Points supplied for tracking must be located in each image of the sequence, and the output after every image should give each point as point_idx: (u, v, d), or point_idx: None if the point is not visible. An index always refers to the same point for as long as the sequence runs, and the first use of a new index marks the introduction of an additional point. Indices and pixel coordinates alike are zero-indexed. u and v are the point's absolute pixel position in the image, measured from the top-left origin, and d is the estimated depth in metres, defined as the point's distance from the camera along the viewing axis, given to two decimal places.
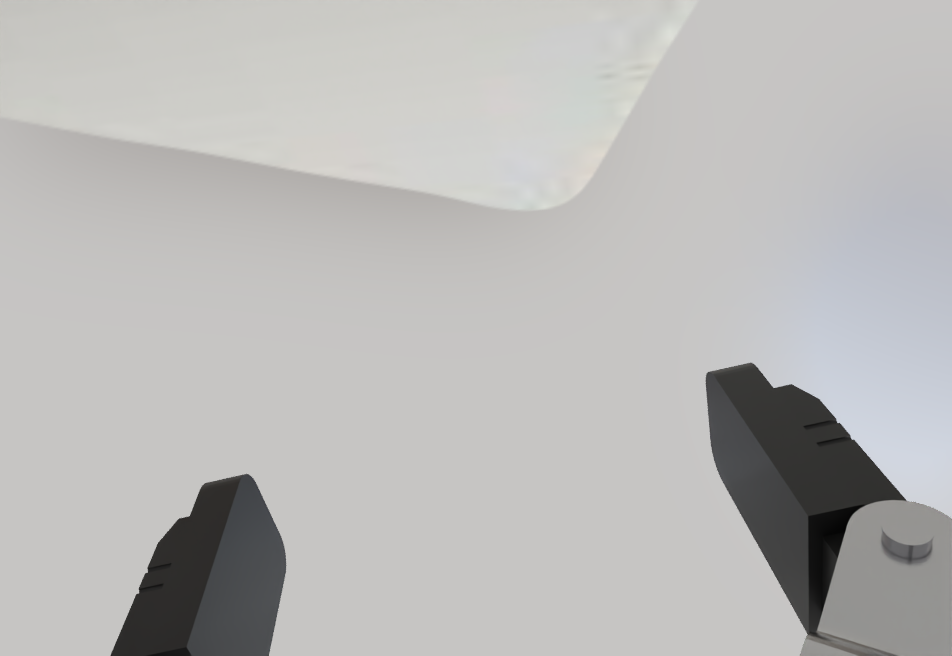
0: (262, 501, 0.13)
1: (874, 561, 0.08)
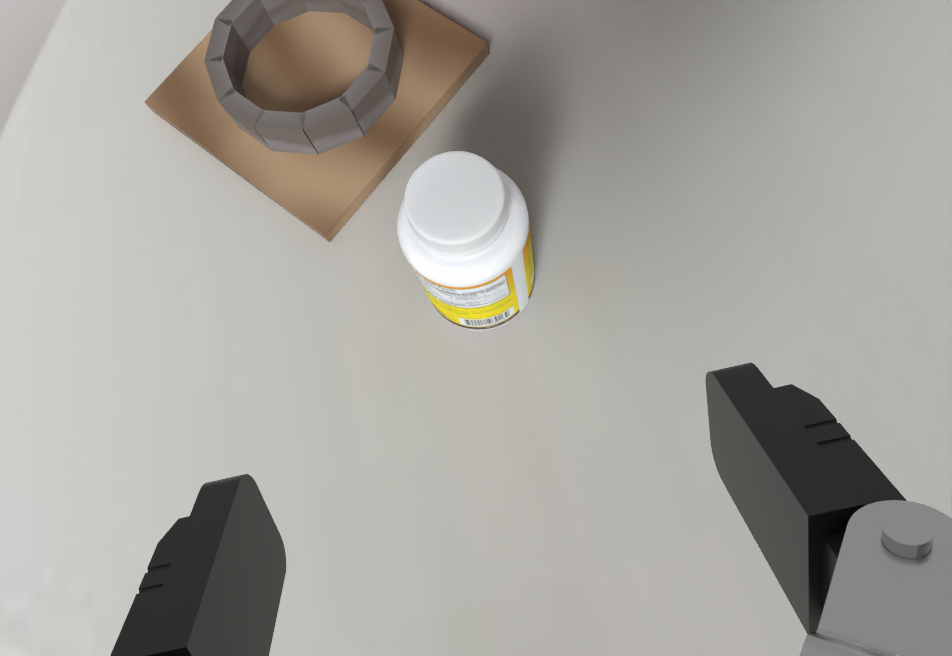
0: (262, 501, 0.13)
1: (874, 561, 0.08)
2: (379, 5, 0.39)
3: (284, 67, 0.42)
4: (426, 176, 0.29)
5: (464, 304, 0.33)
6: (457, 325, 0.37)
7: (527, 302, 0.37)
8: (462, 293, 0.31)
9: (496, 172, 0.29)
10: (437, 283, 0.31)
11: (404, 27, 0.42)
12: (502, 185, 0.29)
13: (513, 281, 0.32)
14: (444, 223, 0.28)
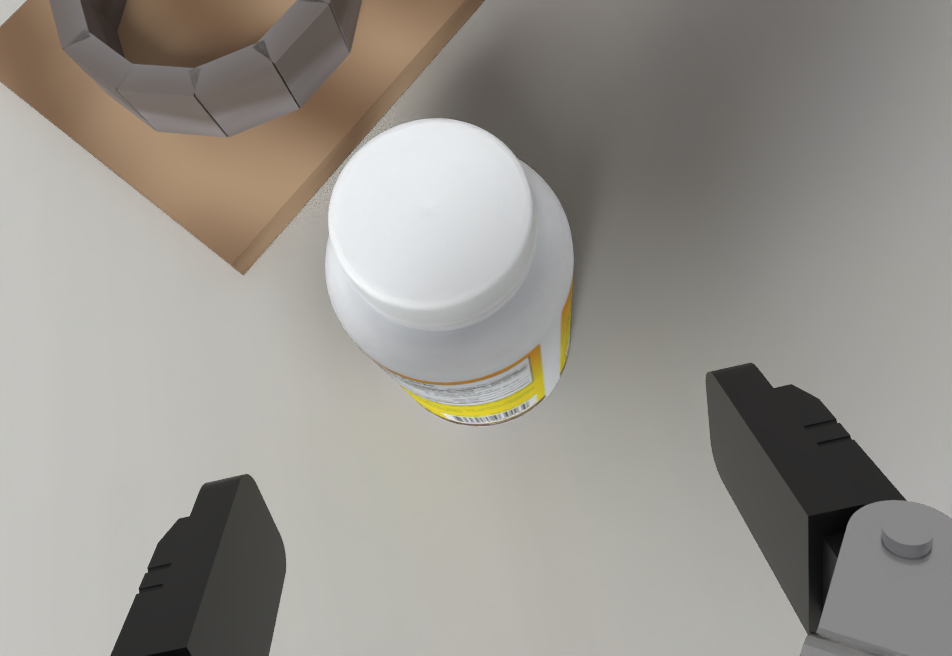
0: (262, 501, 0.13)
1: (874, 561, 0.08)
2: None
3: (183, 5, 0.27)
4: (374, 168, 0.14)
5: (451, 401, 0.18)
6: (442, 418, 0.23)
7: (557, 381, 0.23)
8: (447, 389, 0.17)
9: (515, 161, 0.14)
10: (399, 373, 0.16)
11: None
12: (527, 187, 0.14)
13: (540, 363, 0.18)
14: (407, 264, 0.14)
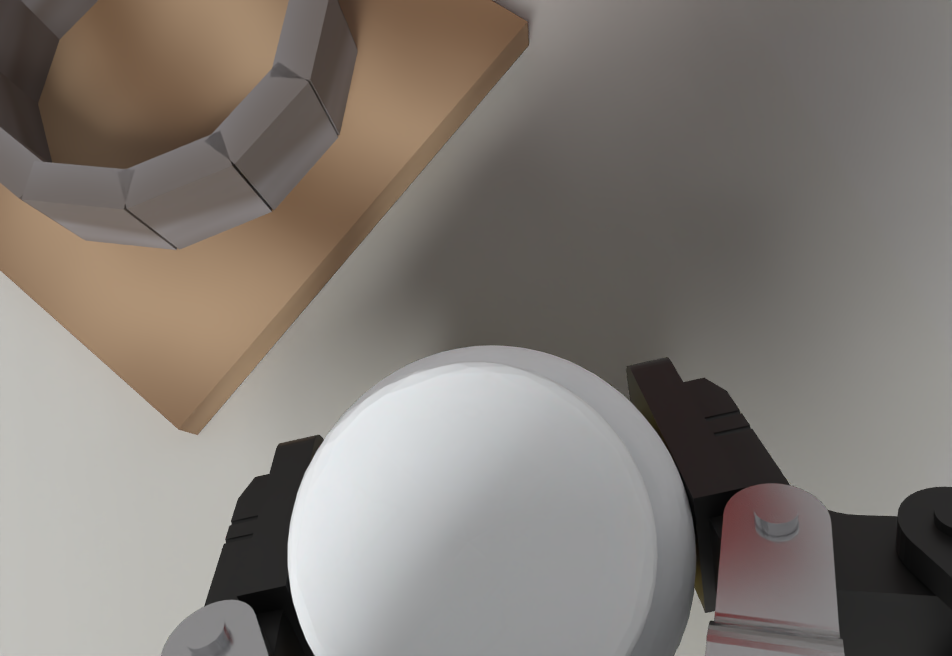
0: None
1: (752, 544, 0.09)
2: None
3: (123, 70, 0.21)
4: (369, 458, 0.08)
5: None
6: None
7: None
8: None
9: (623, 453, 0.08)
10: None
11: None
12: (647, 507, 0.08)
13: None
14: None
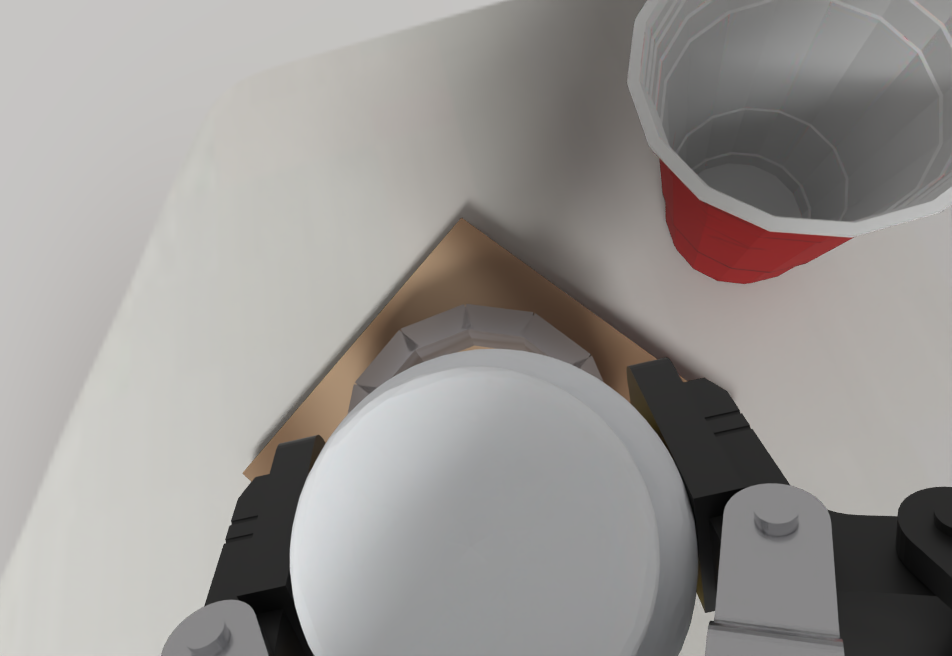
0: None
1: (752, 544, 0.09)
2: None
3: None
4: (371, 463, 0.08)
5: None
6: None
7: None
8: None
9: (625, 458, 0.08)
10: None
11: (614, 383, 0.30)
12: (650, 512, 0.08)
13: None
14: None
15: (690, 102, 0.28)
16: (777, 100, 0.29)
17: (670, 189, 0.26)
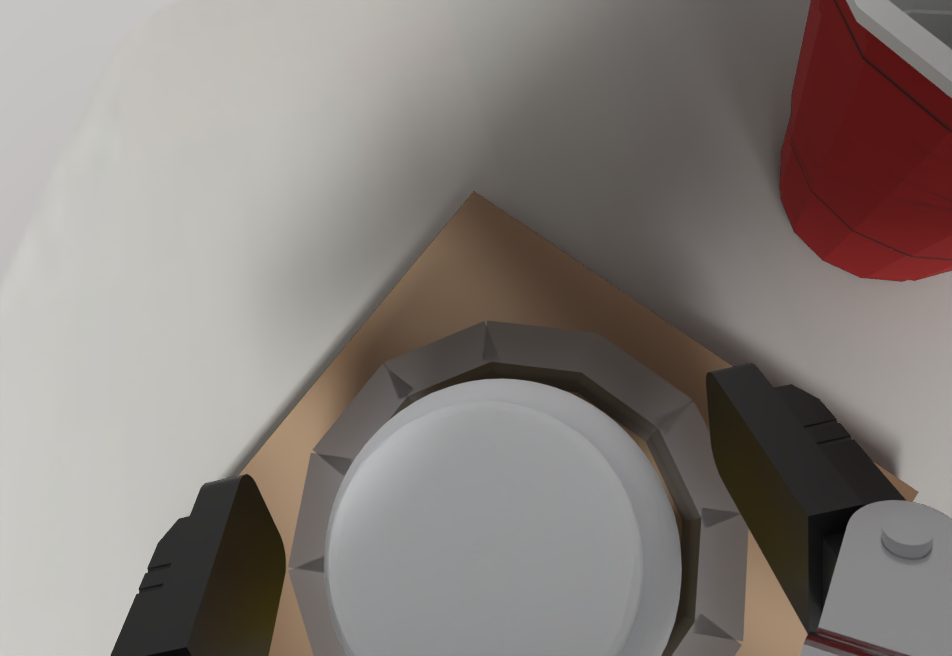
0: (262, 501, 0.13)
1: (874, 561, 0.08)
2: (704, 446, 0.17)
3: None
4: (397, 484, 0.09)
5: None
6: None
7: None
8: None
9: (615, 481, 0.09)
10: None
11: None
12: (636, 528, 0.09)
13: None
14: None
15: None
16: None
17: (830, 124, 0.15)
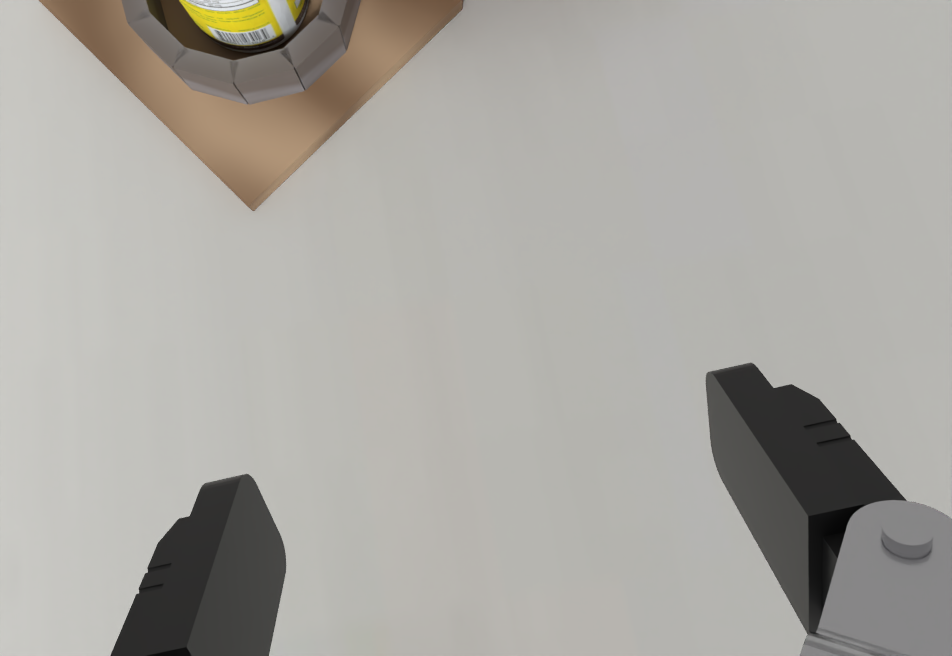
0: (262, 501, 0.13)
1: (874, 561, 0.08)
2: None
3: None
4: None
5: (202, 2, 0.29)
6: (214, 41, 0.34)
7: (295, 29, 0.34)
8: None
9: None
10: None
11: None
12: None
13: None
14: None
15: None
16: None
17: None
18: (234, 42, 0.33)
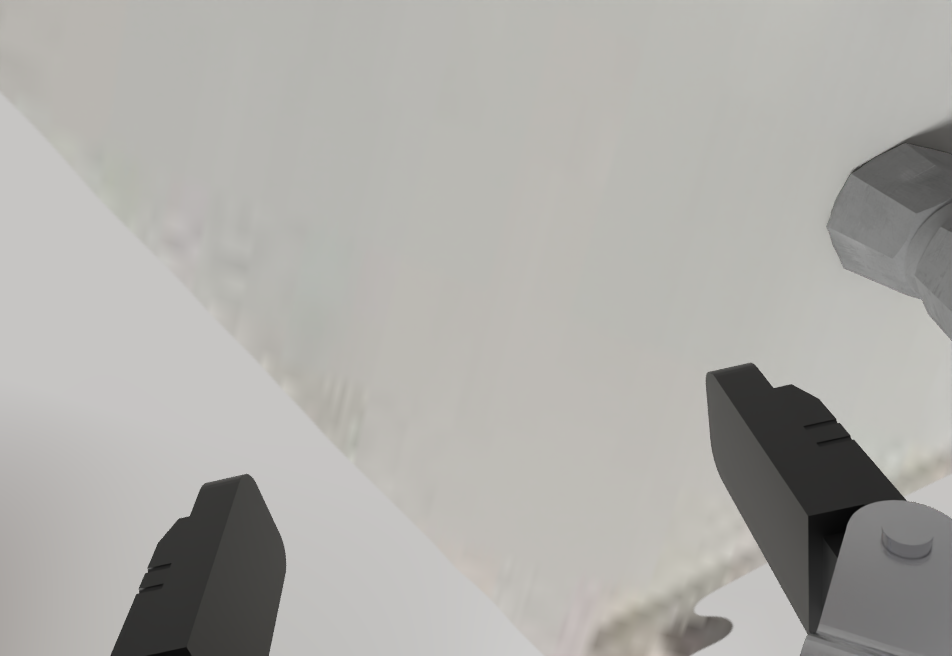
0: (262, 501, 0.13)
1: (874, 561, 0.08)
2: None
3: None
4: None
5: None
6: None
7: None
8: None
9: None
10: None
11: None
12: None
13: None
14: None
15: None
16: None
17: None
18: None
